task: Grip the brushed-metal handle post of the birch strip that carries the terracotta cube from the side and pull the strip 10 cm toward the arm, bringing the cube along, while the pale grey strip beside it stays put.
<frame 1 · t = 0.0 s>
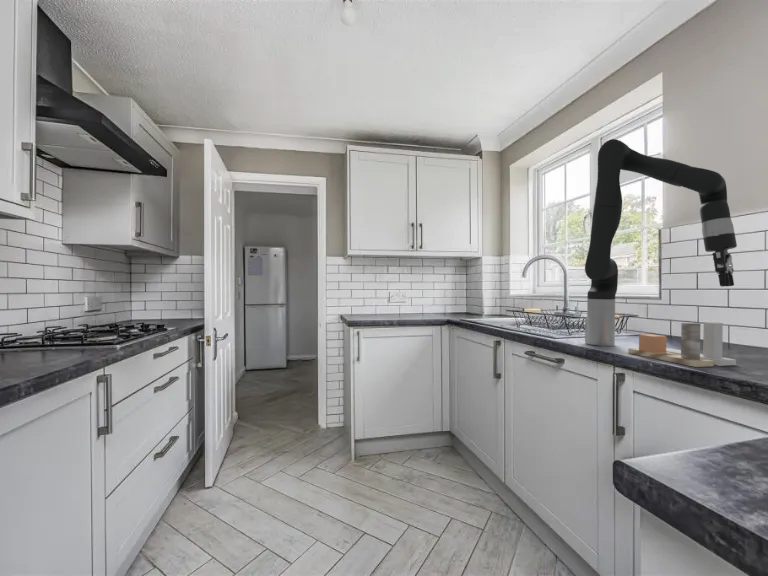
hand: (727, 286, 120), 22 cm above the countertop, tool pointing down, fingers open, 8 cm apart
terracotta cube: (652, 351, 121), point 2 cm above the countertop, touching birch strip
birch strip: (667, 339, 116), point 6 cm above the countertop, slide at 0.0 cm, touching terracotta cube
grey strip: (688, 339, 118), point 6 cm above the countertop, slide at 0.0 cm
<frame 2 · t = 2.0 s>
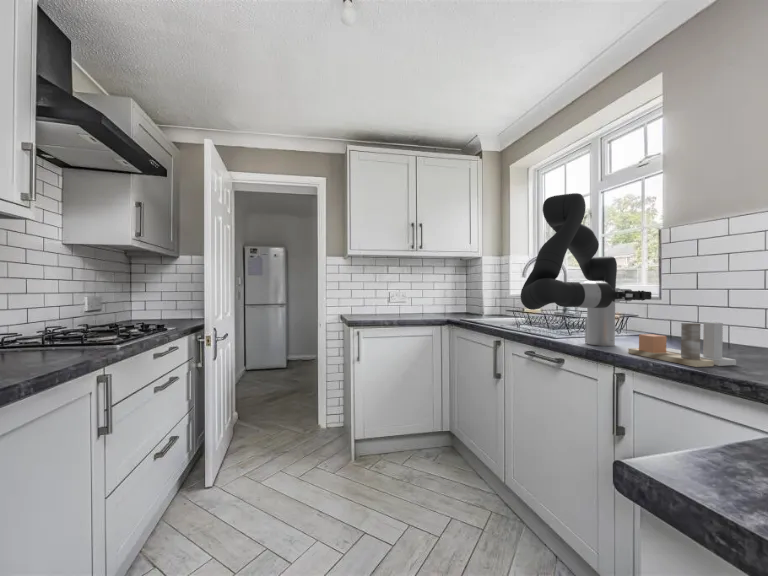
hand: (637, 295, 113), 19 cm above the countertop, tool horizontal, fingers open, 8 cm apart
nothing on the countertop moved.
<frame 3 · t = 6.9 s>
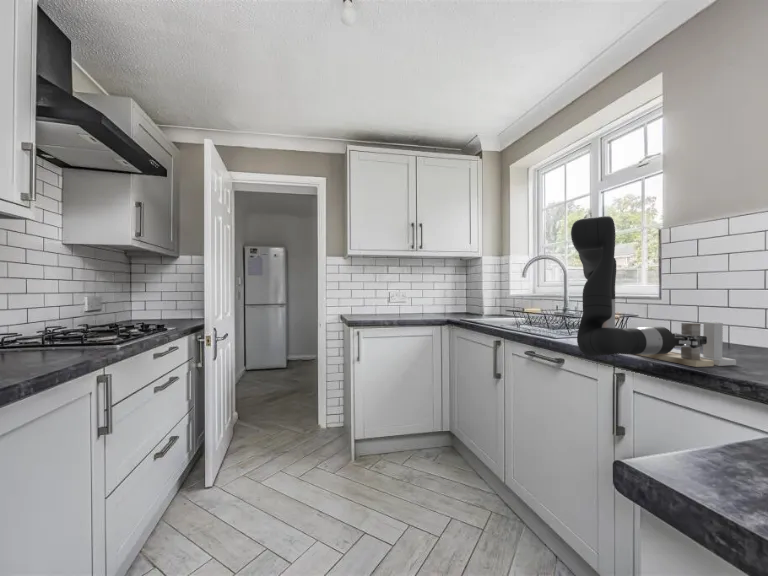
hand: (698, 339, 110), 7 cm above the countertop, tool horizontal, fingers closed on birch strip, 3 cm apart
birch strip: (667, 339, 116), point 6 cm above the countertop, slide at 0.0 cm, touching gripper, terracotta cube
everything else where it was.
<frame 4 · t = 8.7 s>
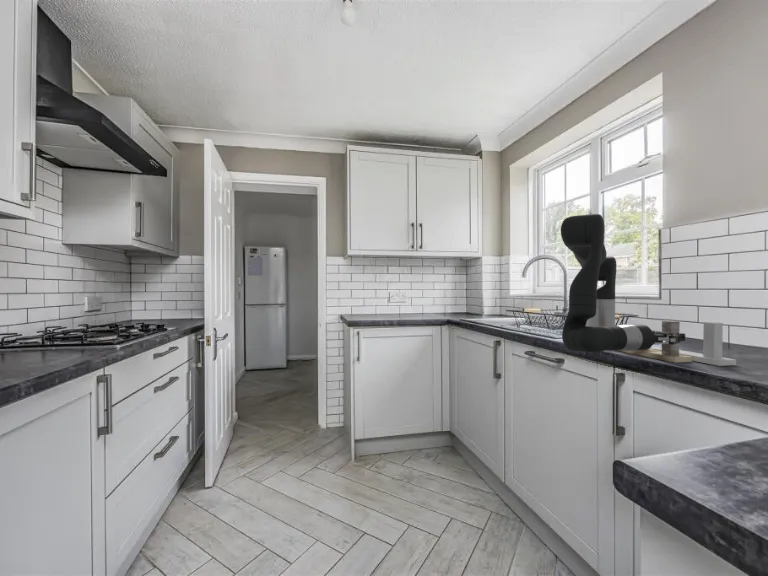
hand: (678, 336, 116), 7 cm above the countertop, tool horizontal, fingers closed on birch strip, 3 cm apart
terracotta cube: (635, 348, 127), point 2 cm above the countertop, touching birch strip
birch strip: (649, 337, 122), point 6 cm above the countertop, slide at 6.1 cm, touching gripper, terracotta cube
everything else where it was.
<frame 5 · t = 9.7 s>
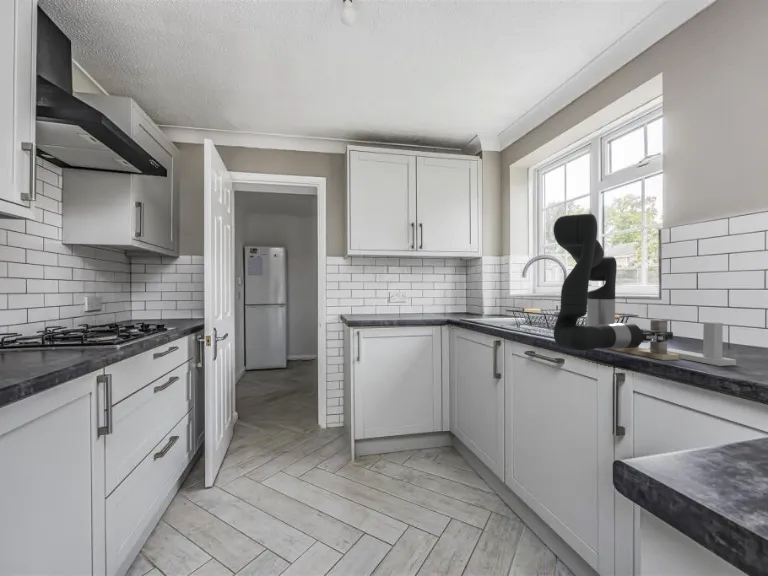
hand: (666, 334, 120), 7 cm above the countertop, tool horizontal, fingers closed on birch strip, 3 cm apart
terracotta cube: (626, 346, 131), point 2 cm above the countertop, touching birch strip
birch strip: (639, 335, 126), point 6 cm above the countertop, slide at 9.9 cm, touching gripper, terracotta cube
everything else where it was.
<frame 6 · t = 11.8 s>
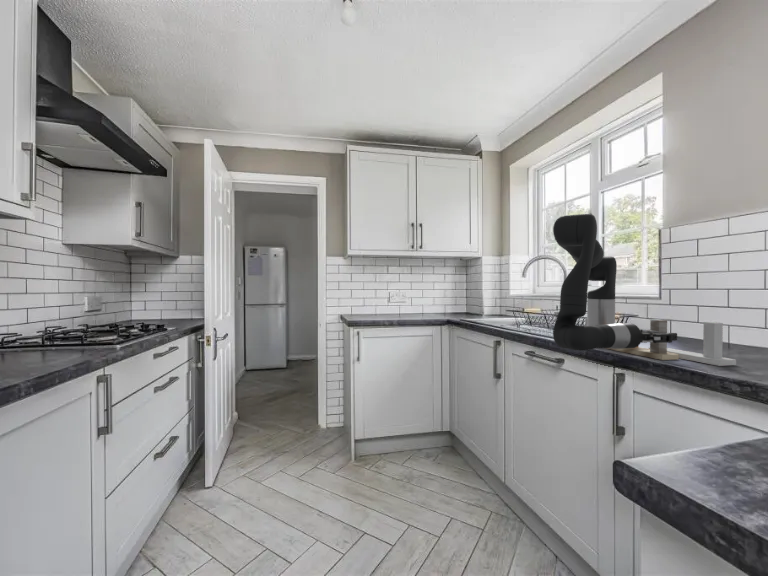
hand: (662, 334, 120), 7 cm above the countertop, tool horizontal, fingers open, 8 cm apart
birch strip: (638, 335, 126), point 6 cm above the countertop, slide at 9.9 cm, touching terracotta cube
everything else where it was.
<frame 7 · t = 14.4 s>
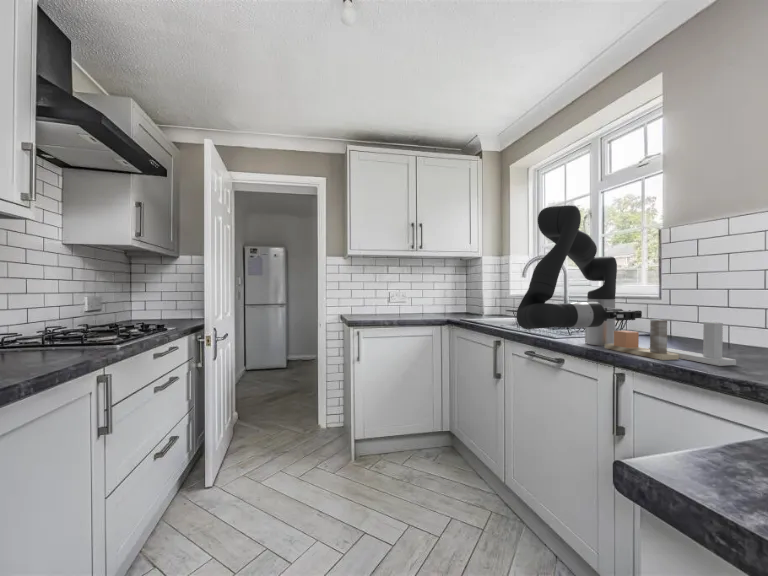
hand: (628, 313, 118), 14 cm above the countertop, tool horizontal, fingers open, 8 cm apart
nothing on the countertop moved.
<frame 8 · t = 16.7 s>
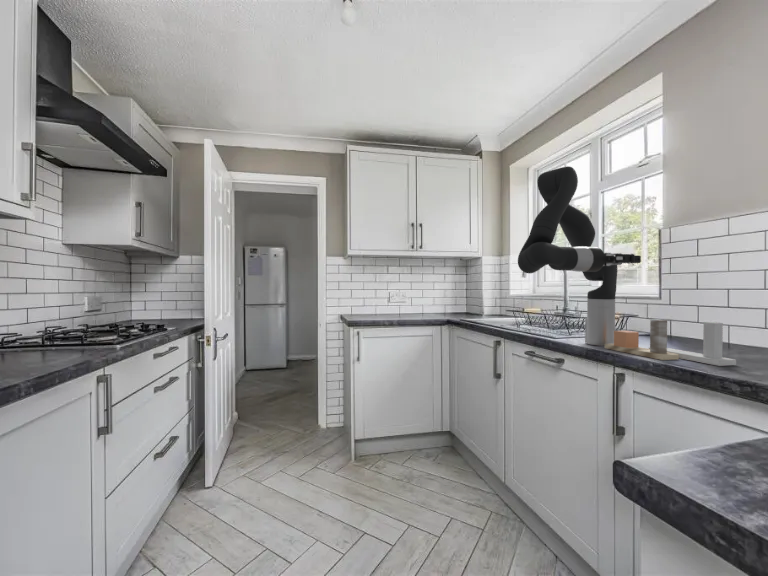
hand: (627, 260, 120), 30 cm above the countertop, tool horizontal, fingers open, 8 cm apart
nothing on the countertop moved.
at the end: birch strip slide at 9.9 cm; terracotta cube inside the target area (0.6 cm from its centre), point 1.6 cm above the countertop; terracotta cube touching birch strip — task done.
